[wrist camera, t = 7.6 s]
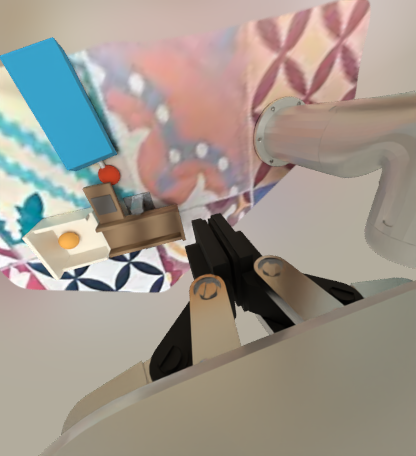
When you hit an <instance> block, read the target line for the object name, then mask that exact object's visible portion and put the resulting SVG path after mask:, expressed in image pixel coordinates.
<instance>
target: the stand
mask: <svg viewBox="0 0 416 456" xmlns="http://www.w3.org/2000/svg"><path fill="white" fill-rule="evenodd" d="M123 199H124V202H125V204H126V207H127V209H128V211H129V214H130V215H135V214H139V213H143V212H145V211H149V210H154V209H155V208H154V205H153V202H152V199H151V196H150V193H149V192H146V193H141V194H137V195H133V196H128V197H124V198H123ZM153 247H155V246H153ZM149 248H151V247H149ZM146 249H148V248H146Z"/></svg>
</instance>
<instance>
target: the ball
mask: <svg viewBox="0 0 416 456" xmlns="http://www.w3.org/2000/svg"><path fill="white" fill-rule="evenodd" d="M58 243H59V245H60V246H61V247H62V248H64V249H73V248H75V247H76V246H77V245H78V244H79V237H78V236H77V235H76V234H74V233H71V232H67V233H64V234H62V235H61V236H60V237H59V239H58Z"/></svg>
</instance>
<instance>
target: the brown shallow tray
mask: <svg viewBox="0 0 416 456" xmlns="http://www.w3.org/2000/svg"><path fill="white" fill-rule="evenodd" d="M83 191H84V193H85V195H86V197H87V199H88V200H89V202H90V204H91V206H92V208H93V210H94V212H95V214H96V216H97V218H98V220H99V224H98V225H97V227H96V229H95V231H96V233H98V232H102V234H103V235H104V237H105V239H106V241H107V243H108V245H109V247H110V249H111V250H110V253H109V256H110V257H114V256H118V255H122V254H126V253H130V252H134V251H138V250H141V249H145V248H149V247H153V246H157V245H161V244H165V243H169V242H173V241H177V240H181V239H182V240H183V241H184V240H186V238H185V234H184V230H183V226H182V222H181V218H180V215H179V211H178V207H177V204H175V205H171V206H167V207H162V208H158V209H154V210H149V211H145V212H143V213H139V214H135V215H128V216H125V215H124V213H123V210H122V208H121V206H120V203H119V201H118V199H117V196H116V194H115V192H114V189H113V187H112V185H111V182H107V183H102V184H97V185H92V186H88V187H84V188H83Z"/></svg>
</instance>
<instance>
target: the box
mask: <svg viewBox="0 0 416 456" xmlns="http://www.w3.org/2000/svg"><path fill="white" fill-rule="evenodd" d="M98 224H99V220H98V218H97V216H96V214H95V212H94V210H93V208H92V207H90V208H86V209H82V210H77V211H73V212H69V213H65V214H60V215H56V216H52V217H48V218H43V219H42V220H41V221H40V222H39V223H38V224H37V225H36V226H35V227H34V228H33V229H32V230H30V231H29V232H28V233H27V234H26V235H25V236H24V237H23V238H22V239H23V240H24V241H25V243H26V244H27V245H28V246H29V247H30V249H31V250H32V251H33V252H34V254H35V255H36V256H37V257H38V259H39V260H40V261H41V262H42V263H43V265H44V266H45V267H46V268H47V270H48V271H49V272H50V273H51V275H52V276H53V277H54V278H55V279H56V280H59V279H60V278H61V276H62V275H63V273H64V272H65V271H69V270H72V269H76V268H80V267H83V266H87V265H90V264H94V263H97V262H101V261H105V260H108V259H109V253H110V250H111V249H110V247H109V245H108V243H107V241H106V239H105V237H104V235H103V234H102V232H98V233H96V231H95V229H96V227H97V225H98ZM67 232H71V233H74V234H76V235H77V236H78V237H79V244H78V245H77V246H76V247H75V248H73V249H64V248H62V247H61V246H60V245H59V243H58V239H59V237H60V236H61V235H62V234H64V233H67Z"/></svg>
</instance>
